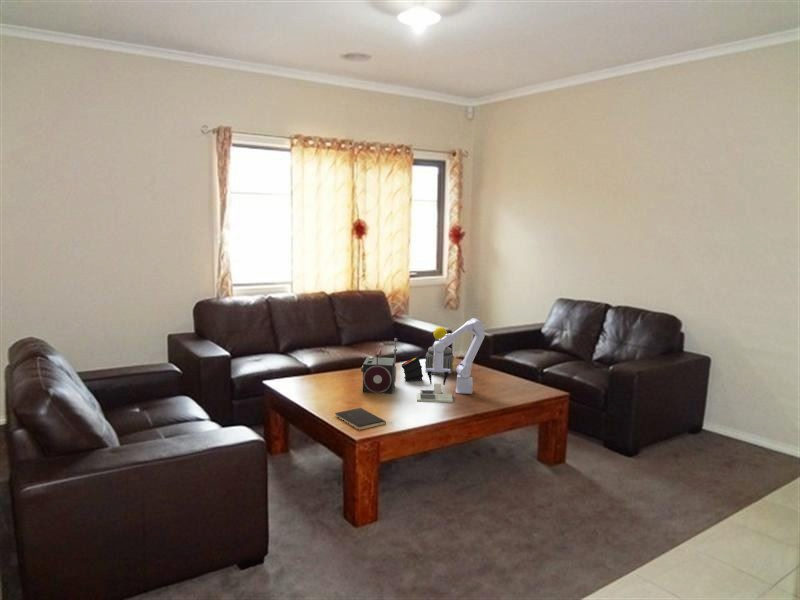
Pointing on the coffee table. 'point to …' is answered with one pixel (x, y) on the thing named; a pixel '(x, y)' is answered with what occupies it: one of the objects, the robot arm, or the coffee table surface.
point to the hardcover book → (360, 418)
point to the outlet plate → (433, 396)
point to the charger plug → (437, 387)
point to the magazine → (412, 370)
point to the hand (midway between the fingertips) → (437, 384)
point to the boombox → (379, 374)
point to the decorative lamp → (447, 353)
